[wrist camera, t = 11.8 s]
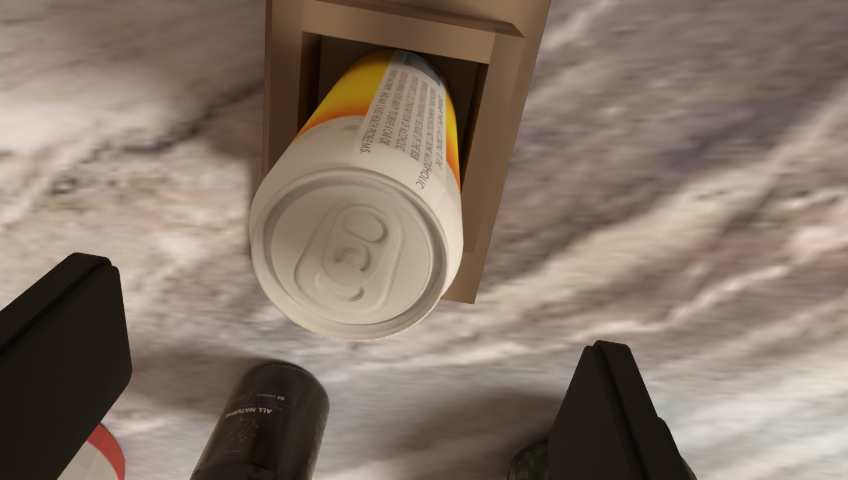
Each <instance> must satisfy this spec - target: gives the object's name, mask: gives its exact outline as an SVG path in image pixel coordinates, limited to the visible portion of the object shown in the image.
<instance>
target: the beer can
mask: <svg viewBox="0 0 848 480" xmlns="http://www.w3.org/2000/svg"><path fill="white" fill-rule="evenodd" d="M249 236H250V243H251V258H252V264H253V268H254V272H255V275H256V277H257V280H258V282H259V284H260V286H261V288H262V290H263V291H264V293H265V294H266V296H267V297H268V298H269V300H270V301H271V302H272V303H273V304H274V306H275V307H276V308H277V309H278V310H280V311H281V312H282V313H283V314H284V315H285V316H286V317H288V318H289V319H290V320H292V321H293V322H295V323H296V324H298V325H300V326H301V327H303V328H305V329H307V330H309V331H312V332H314V333H317V334H319V335H322V336H326V337H329V338H333V339H338V340H345V341H372V340H378V339H383V338H387V337H391V336H394V335H396V334H399V333H401V332H403V331H405V330H407V329H409V328H411V327H413V326H414V325H416V324H417V323H419V322H420V321H421V320H422V319H423V318H425V317H426V316H427V315H428V314H429V312H430V311H431V310H432V309H433V308H434V307H435V305H436V304H437V302H438V301H439V299H440V298H441V296H442V295H443V294H444V293H445V292H446V291H447V289H448V288H449V286H450V285H451V283H452V281H453V280H454V278H455V276H456V274H457V271H458V268H459V266H460V262H461V258H462V252H463V227H462V210H461V194H460V178H459V161H458V145H457V128H456V112H455V102H454V98H453V94H452V91H451V89H450V86H449V84H448V83H447V81H446V79H445V78H444V76H443V75H442V74H441V72H440V71H439V70H438V69H437V68H436V67H435V66H434V65H433V64H431V63H430V62H429V61H427V60H426V59H424V58H422V57H420V56H418V55H416V54H414V53H411V52H407V51H403V50H380V51H376V52H372V53H370V54H367V55H365V56H363V57H361V58H360V59H358V60H357V61H355V62H354V63H353V64H352V65H351V66H350V67H348V69H347V70H346V71H345V72H344V73H343V75H342V76H341V77H340V79H339V80H338V81H337V83H336V84H335V85H334V87H333V88H332V89H331V91H330V92H329V93H328V95H327V96H326V97H325V99H324V100H323V101H322V103H321V104H320V105H319V107H318V108H317V109H316V111H315V112H314V113H313V115H312V116H311V117H310V119H309V120H308V121H307V123H306V124H305V125H304V127H303V128H302V129H301V131H300V132H299V133H298V135H297V136H296V137H295V139H294V140H293V141H292V143H291V144H290V145H289V147H288V148H287V149H286V151H285V152H284V153H283V155H282V156H281V157H280V159H279V160H278V161H277V163H276V164H275V165H274V167H273V168H272V169H271V171H270V172H269V173H268V175H267V176H266V177H265V179H264V180H263V182H262V183H261V185H260V187H259V188H258V190H257V192H256V195H255V197H254V199H253V203H252V206H251V210H250V217H249Z"/></svg>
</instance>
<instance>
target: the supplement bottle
mask: <svg viewBox="0 0 848 480" xmlns="http://www.w3.org/2000/svg"><path fill="white" fill-rule="evenodd" d="M328 414H329V399H328V396H327V393H326V391H325V389H324V388H323V386H322V385H321V384H320V383H319V381H318V380H317V379H316V378H314V377H313V376H312V375H310V374H309V373H307V372H305V371H304V370H301V369H299V368H297V367H293V366H290V365H284V364H267V365H262V366H259V367H256V368H254V369H252V370H250V371H248V372H247V373H245V374H244V375H243V376H242V377H241V378H240V379H239V381H238V382H237V384H236V385H235V387H234V389H233V391H232V393H231V395H230V397H229V399H228V401H227V403H226V405H225V407H224V409H223V411H222V414H221V416H220V418H219V420H218V422H217V424H216V426H215V428H214V430H213V432H212V434H211V436H210V438H209V440H208V442H207V444H206V446H205V449H204V451H203V453H202V455H201V457H200V459H199V461H198V463H197V465H196V467H195V469H194V471H193V473H192V476H191V478H190V480H312V476H313V473H314V469H315V465H316V461H317V457H318V453H319V450H320V446H321V442H322V438H323V434H324V430H325V426H326V422H327V418H328Z"/></svg>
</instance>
